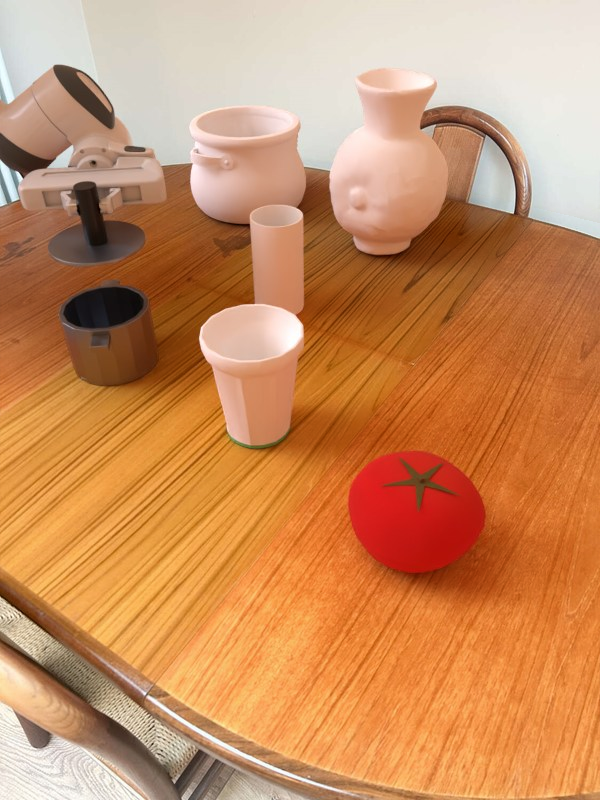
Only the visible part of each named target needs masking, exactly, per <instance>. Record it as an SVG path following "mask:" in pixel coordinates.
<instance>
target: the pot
mask: <svg viewBox="0 0 600 800" xmlns="http://www.w3.org/2000/svg"><path fill="white" fill-rule="evenodd" d="M188 130H189V134H190V136H191V137H192V139H193V140H194V146H193V148H192V149H190V151H189V152H190V163H192V165H191V170H190V181H189V185H190V189H191V194H192V198H193V199H194V201H195V203H196V205H197V207H198V208H200V210H201V211H202V212H203V213H204V214H205V215H206V216H208V217H210V218H212V219H214V220H217V221H220V222H224V223H230V224H236V225H237V224H239V225H250V214H251V213H252V212H253V211H254V210H255V209H257V208H260V207H263V206H268V205H287V206H292V207H295V208H297V209H298V207H299V205H300V204H301V203H302V201H303V198H304V195H305V192H306V188H307V176H306V170H305V166H304V163H303V160H302V157H301V155H300V153H299V151H298V139H299V132H300V130H301V120H300V118H299V117H298V116H297V115H296V114H295V113H293V112H291V111H289V110H286V109H283V108H279V107H275V106H268V105H250V104H249V105H233V106H225V107H219V108H213V109H211V110H208V111H204V112H202V113H199V114H198V115H196V116H194V117H193V118H192V119H191V120H190V123H189V126H188Z"/></svg>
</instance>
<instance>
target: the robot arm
mask: <svg viewBox="0 0 600 800" xmlns="http://www.w3.org/2000/svg"><path fill="white" fill-rule="evenodd" d="M71 146H72V147H73V151H72V153H71V156H70V158H69V161H68V164H67V166H66V167H50V166H51V164H53V163H54V162H55V161H56V159H57V158H58V157H59V156H60V155H61V154H63V153H64V152H65V151H67V150H68V149H69V148H70V147H71ZM0 162H2V164H3V165H5V166H6V168H8V169H10V170H11V171H14V172H17V173H22V174H26V175H25V176H24V177H23V178H22V180H20V182H19V184H18V186H17V193H18V196H19V200H20V204H21V206H22V208H23V209H25V210H26V211H28V212H42V211H43V212H44V211H59V210H65V211H66V215H67V217H69V218H70V217H80V214H79V210H78V206H77V202H76V197H75V193H74V189H73V186H74V185H75V184H76V183H79V182H83V181H92V182H95V183H96V186H97V190H98V195H99V200H100V201H99V207H100V209H101V210H100V212H101V214H103V215H113V214H114V213H113V212H114V210H116V209H118V208H120V207H124V206H140V205H157V204H162V203H164V202H167V200H168V199H167V198H168V197H167V189H166V181H165V175H164V170H163V167H162V165H161V163H160V161H159V160H157V157H156V154H155V151H154V149H153V148H151V147H144V146H135V145H133V139H132V137H131V134H130V132H129V130H128V128H127V126H126V125H125V124H124V123H123V121H122V120H120V119H119V118H118V117H117V116H116V113H115V109H114V106H113V104H112V102H111V100H110V99H109V97H108V96H107V94H106V93H105V92H104V90H103V89H102V87H100V85H99V84H98V83H97V82H96V81H95V80H94V79H93V78H92V77H91V76H90V75H89V74H87V73H86V72H85V71H83V70H82V69H79V68H76V67H73V66H70V65H65V64H53V66H52V67H51V68H49V69H47V71H45V72H44V73H43V74H42V75H40V76H39V77H38V78H37V79H36V80H34V81H33V82H32V83H31V85H29V86H28V87H27V88H26V89H25V90H24V91H23V92H22V93H20V94H19V95H18V96H17V97H15V98H14V99H13V100H12V101H10V103H5V102H4V101H2V99H1V98H0ZM48 167H50V168H48Z"/></svg>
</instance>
